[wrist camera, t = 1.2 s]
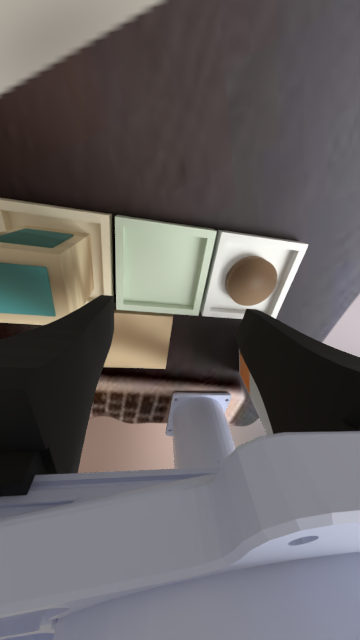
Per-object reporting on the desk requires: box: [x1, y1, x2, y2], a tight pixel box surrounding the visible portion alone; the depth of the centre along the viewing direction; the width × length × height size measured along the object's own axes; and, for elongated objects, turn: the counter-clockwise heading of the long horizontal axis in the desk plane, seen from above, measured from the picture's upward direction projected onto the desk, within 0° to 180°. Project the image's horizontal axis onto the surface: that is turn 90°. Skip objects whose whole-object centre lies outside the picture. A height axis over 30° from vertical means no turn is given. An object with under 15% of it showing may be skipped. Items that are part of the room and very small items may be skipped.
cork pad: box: [104, 310, 173, 369], centre depth 22 cm, size 7×7×1 cm
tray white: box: [200, 230, 309, 319], centre depth 19 cm, size 8×8×1 cm
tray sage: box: [115, 215, 217, 316], centre depth 18 cm, size 8×8×1 cm
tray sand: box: [0, 198, 114, 305], centre depth 17 cm, size 8×8×1 cm
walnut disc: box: [225, 256, 277, 306], centre depth 19 cm, size 4×4×1 cm
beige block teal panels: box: [0, 226, 94, 325], centre depth 14 cm, size 5×4×6 cm
